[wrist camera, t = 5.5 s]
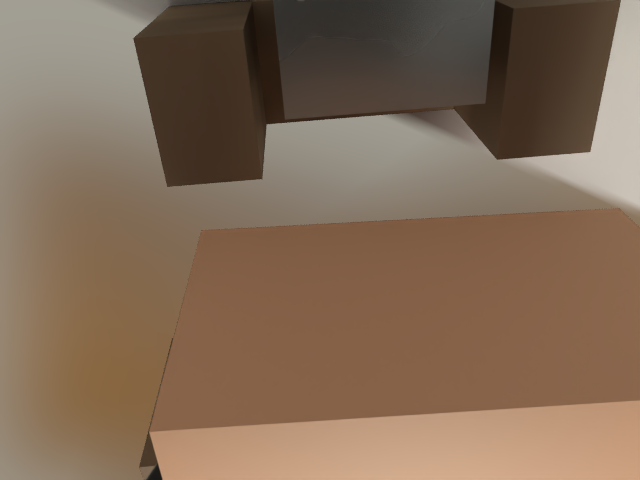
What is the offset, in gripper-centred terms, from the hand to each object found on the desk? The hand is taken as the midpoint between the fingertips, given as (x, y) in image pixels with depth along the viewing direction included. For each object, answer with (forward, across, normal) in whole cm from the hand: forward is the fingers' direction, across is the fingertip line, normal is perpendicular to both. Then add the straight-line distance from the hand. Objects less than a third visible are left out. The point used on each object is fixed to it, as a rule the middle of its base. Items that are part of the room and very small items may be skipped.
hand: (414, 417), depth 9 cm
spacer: (+1, 0, 0) cm, 1 cm away
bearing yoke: (+6, 0, -4) cm, 7 cm away
